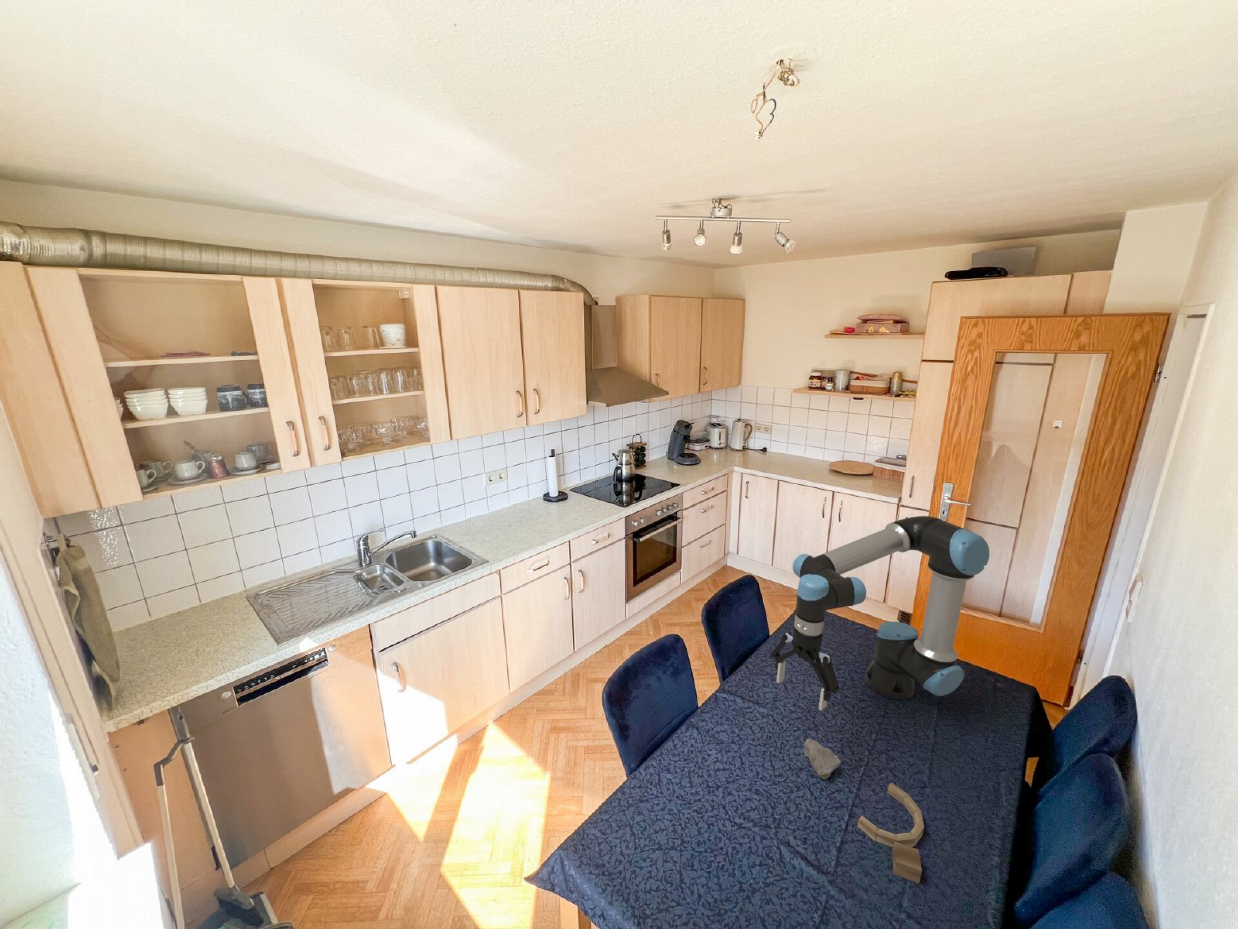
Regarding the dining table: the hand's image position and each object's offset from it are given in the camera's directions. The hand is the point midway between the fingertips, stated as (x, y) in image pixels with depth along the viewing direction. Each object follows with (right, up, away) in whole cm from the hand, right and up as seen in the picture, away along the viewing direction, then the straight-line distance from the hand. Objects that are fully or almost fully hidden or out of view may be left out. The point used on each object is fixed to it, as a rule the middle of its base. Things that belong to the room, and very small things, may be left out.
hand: (800, 694), depth 140 cm
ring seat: (+17, -24, -17) cm, 35 cm away
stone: (+5, -20, -1) cm, 21 cm away
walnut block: (+14, -27, -28) cm, 41 cm away
